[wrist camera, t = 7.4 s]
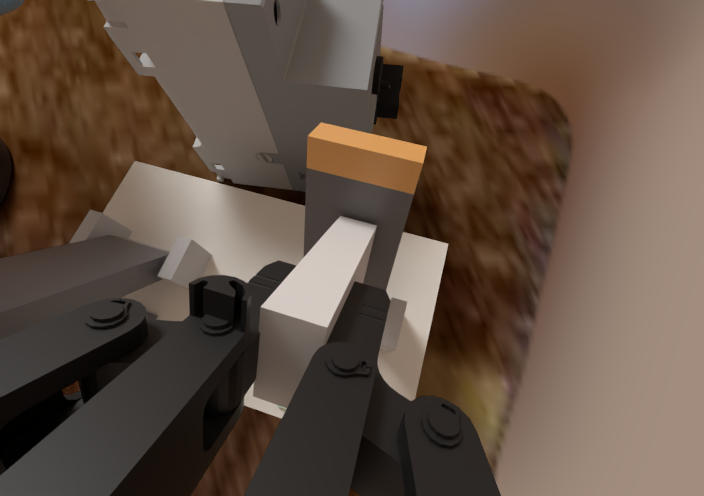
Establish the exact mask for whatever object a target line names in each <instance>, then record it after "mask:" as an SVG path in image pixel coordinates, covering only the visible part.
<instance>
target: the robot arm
mask: <svg viewBox="0 0 704 496" xmlns="http://www.w3.org/2000/svg"><path fill="white" fill-rule="evenodd" d="M24 1H25V0H0V15H3V14H6V13H8V12H11V11H13V10H15V9H17V8H18V7H20V6H21V5H22V4H23V2H24ZM11 168H12V165H11V157H10V154H9V151H8V149H7V147H6V145H5V143H4V142H3V141H2V140H1V138H0V204H1V202H2V201H3V199H4V196H5V194H6V192H7V189H8V186H9V183H10V178H11ZM376 228H377V225H373V224H369V223H366V222H362V221H358V220H354V219H350V218H347V217H343V216H340V217H339V218H338V219H337V220H336V221H335V222H334V224H333V225H332V226H331V227H330V228H329V229H328V230H327V232H326V233H325V234H324V235H323V236H322V237H321V238H320V240H319V241H318V242H317V243H316V244H315V245H314V246H313V248H312V249H311V250H310V251H309V252H308V253H307V254H306V256H305V257H304V258H303V259H302V260H301V261H300V262H299V264H298V265H297V266H296V265H293V264H290V263H286V262H283V261H279V260H278V261H276V262H273V263H271V264H268V265H265V266H264V267H263V268H262V269H261V270H260V271H259V272H258V273H257V274H256V276H253V277H252V278H251V279H250V280H249V282H248V283H246V282H245V281H243V280H241V279H239V278H236V277H232V276H227V275H210V276H206V277H201V278H198V279H196V280H194V281H192V282H190V283H189V311H190V315H189V316H188V317H187V318H186V319H184V320H183V321H166V320H152V319H147V315H146V308H145V307H144V306H143V305H142V304H141V302H138V301H135V300H133V299H127V298H111V299H103V300H99V301H96V302H93V303H89V304H87V305H84V306H82V307H79V308H77V309H74V310H72V311H69V312H67V313H64V314H62V315H59V316H57V317H54V318H52V319H49V320H47V321H45V322H42V323H40V324H37V325H35V326H32V327H30V328H27V329H25V330H22V331H20V332H17V333H15V334H12V335H10V336H7V337H5V338H2V339H0V496H190V495H191V494H192V492H193V491H194V489H195V487H196V486H197V484H198V483H199V481H200V480H201V478H202V476H203V475H204V473H205V472H206V470H207V468H208V467H209V465H210V464H211V462H212V460H213V459H214V457H215V456H216V454H217V452H218V451H219V449H220V448H221V446H222V444H223V443H224V441H225V440H226V438H227V436H228V435H229V433H230V432H231V430H232V428H233V427H234V425H235V424H236V422H237V420H238V419H239V417H240V415H241V413H242V410H243V407H244V396H245V395H246V393H247V392H248V390H249V389H250V387H251V386H252V384H253V383H254V389H253V397H256V398H259V399H262V400H264V401H267V402H270V403H273V404H276V405H279V406H282V407H285V408H287V409H286V411H285V413H284V415H283V417H282V419H281V421H280V423H279V425H278V427H277V429H276V431H275V433H274V436H273V438H272V440H271V442H270V444H269V446H268V448H267V450H266V452H265V454H264V456H263V458H262V460H261V462H260V464H259V466H258V468H257V470H256V472H255V474H254V476H253V478H252V480H251V482H250V484H249V486H248V488H247V490H246V492H245V494H244V496H349V491H350V488H352V489H353V490H354V491H355V492H356V493H358V494H359V495H360V496H501V495H500V492H499V490H498V487H497V484H496V482H495V479H494V476H493V474H492V471H491V468H490V466H489V463H488V460H487V457H486V455H485V452H484V449H483V447H482V444H481V441H480V439H479V436H478V433H477V431H476V429H475V428H474V426H473V424H472V422H471V420H470V419H469V418H468V417H467V416H466V415H465V414H464V413H463V411H462V410H461V409H460V408H459V407H457V406H455V405H454V404H452V403H450V402H449V401H447V400H445V399H442V398H439V397H435V396H420V397H418V398H416V399H414V400H412V401H410V400H408V399H407V398H405V397H404V396H402V395H401V394H399V393H398V392H396V391H395V390H394V389H393V388H391V387H390V386H389V385H388V384H387V383H386V381H385V380H384V379H383V377H382V376H381V374H380V372H379V368H378V365H377V364H378V355H379V350H380V346H381V341H382V337H383V332H384V328H385V323H386V319H387V315H388V310H389V306H390V299H389V296H388V294H387V292H386V290H384V289H380V288H377V287H373V286H370V285H366V284H363V282H364V277H365V273H366V269H367V265H368V261H369V257H370V253H371V248H372V244H373V240H374V236H375V232H376ZM76 381H78V383H79V387H80V391H78V392H76V393H73V394H71V395H63V392H62V389H64V388H66V387H68V386H69V385H71V384H73V383H75V382H76Z"/></svg>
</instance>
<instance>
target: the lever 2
mask: <svg viewBox="0 0 704 496" xmlns="http://www.w3.org/2000/svg"><path fill="white" fill-rule="evenodd" d="M426 149H427V147H426V146H422V145H417V144H413V143H409V142H404V141H400V140H396V139H391V138H387V137H383V136H378V135H374V134H370V133H365V132H361V131H357V130H352V129H348V128H344V127H339V126H335V125H331V124H326V123H322V122H321V123H320V124H319V125H318V126H317V127H316V128H315V129H314V130H313V131H312V132H311V133H310V134H309V135H308V139H307V169H306V199H305V228H304V257H305V256H306V254H307V253H308V252H309V251H310V250H311V249H312V248H313V246H314V245H315V244H316V243H317V242H318V241H319V240H320V238H321V237H322V236H323V235H324V234H325V233H326V232H327V230H328V229H329V228H330V227H331V226H332V225H333V224H334V222H335V221H336V220H337V219H338V218H339V217H340V216H343V217H347V218H350V219H354V220H358V221H362V222H366V223H369V224H373V225H377V228H376V232H375V236H374V240H373V244H372V248H371V253H370V257H369V261H368V265H367V269H366V273H365V277H364V282H363V284H366V285H370V286H373V287H377V288H380V289H384V290H386V289H387V285H388V282H389V278H390V275H391V272H392V268H393V265H394V261H395V258H396V254H397V251H398V248H399V244H400V241H401V237H402V234H403V230H404V227H405V224H406V220H407V217H408V213H409V210H410V206H411V203H412V200H413V196H414V193H415V189H416V186H417V182H418V179H419V176H420V172H421V169H422V165H423V162H424V157H425V153H426Z"/></svg>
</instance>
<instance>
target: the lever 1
mask: <svg viewBox="0 0 704 496" xmlns="http://www.w3.org/2000/svg"><path fill="white" fill-rule="evenodd" d="M169 253H170V251H168V250H165V249H161V248H158V247H155V246H151V245H148V244H144V243H141V242H138V241H134V240H131V239H128V238H124V237H121V236H113V235H107V236H102V237H97V238H93V239H88V240H83V241H79V242H74V243H69V244H65V245H60V246H56V247H51V248H46V249H42V250H37V251H32V252H28V253H23V254H18V255H14V256H9V257H4V258H0V339H2V338H5V337H7V336H10V335H12V334H15V333H17V332H20V331H22V330H25V329H27V328H30V327H32V326H35V325H37V324H40V323H42V322H45V321H47V320H49V319H52V318H54V317H57V316H59V315H62V314H64V313H67V312H69V311H72V310H74V309H77V308H79V307H82V306H84V305H87V304H89V303H93V302H96V301H99V300H103V299H111V298H121V297H123V296H126V295H128V294H130V293H132V292H135V291H137V290H139V289H142V288H144V287H146V286H148V285H151V284H153V283H155V282H158V281H160V280H162V279H163V278H161V277H158V274H159V272H160V270H161V268H162V266H163V264H164V262H165V260H166V258H167V256H168V255H169Z"/></svg>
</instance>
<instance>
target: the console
mask: <svg viewBox="0 0 704 496" xmlns="http://www.w3.org/2000/svg"><path fill="white" fill-rule="evenodd" d="M304 228H305V206H303V205H300V204H296V203H292V202H288V201H284V200H281V199H277V198H273V197H269V196H266V195H262V194H258V193H254V192H250V191H247V190H243V189H239V188H235V187H232V186H228V185H224V184H220V183H216V182H213V181H209V180H205V179H201V178H198V177H194V176H190V175H186V174H182V173H179V172H175V171H171V170H167V169H164V168H160V167H156V166H152V165H148V164H145V163H141V162H137V161H135V162H134V163H133V165H132V166H131V168H130V170H129V171H128V173H127V174H126V176H125V178H124V179H123V181H122V182H121V184H120V186H119V187H118V189H117V190H116V192H115V194H114V195H113V197H112V198H111V200H110V202H109V203H108V205H107V206H106V208H105V210H104V211H103V213H100V212H97V211H93V210H90V211H89V212H88V214H87V216H86V217H85V219H84V220H83V222H82V223H81V225H80V226H79V228H78V230H77V231H76V233H75V234H74V236H73V237H72V239H71V241H70V242H69V243H74V242H79V241H83V240H88V239H93V238H97V237H102V236H107V235H113V236H121V237H124V238H128V239H131V240H134V241H138V242H141V243H144V244H148V245H151V246H155V247H158V248H161V249H165V250H168V251H170V253H169V255H168V256H167V258H166V260H165V262H164V264H163V266H162V268H161V270H160V272H159V274H158V277H161V278H163V279H162V280H160V281H158V282H155V283H153V284H151V285H148V286H146V287H144V288H142V289H139V290H137V291H135V292H132V293H130V294H128V295H126V296H123V297H121V298H127V299H133V300H135V301H138V302H141V304H142V305H143V306H144V307H145V308H146V315H147V319H152V320H166V321H183V320H184V319H186V318H187V317H188V316H189V315H190V311H189V283H190V282H192V281H194V280H196V279H198V278H201V277H206V276H210V275H227V276H232V277H236V278H239V279H241V280H243V281H245V282H246V283H248V282H249V280H250V279H251V278H252V277H253V276H256V274H257V273H258V272H259V271H260V270H261V269H262V268H263V267H264V266H265V265H268V264H271V263H273V262H276V261H278V260H279V261H283V262H286V263H290V264H293V265H296V266H297V265H298V264H299V262H300V261H301V260H302V259H303V258H304ZM447 248H448V244H447V243H443V242H439V241H436V240H432V239H428V238H424V237H421V236H417V235H413V234H409V233H405V232H403V234H402V237H401V241H400V244H399V248H398V251H397V254H396V258H395V261H394V265H393V268H392V272H391V275H390V278H389V282H388V285H387V289H386V292H387V294H388V296H389V299H390V306H389V310H388V315H387V319H386V323H385V328H384V332H383V337H382V341H381V346H380V350H379V355H378V364H377V365H378V368H379V372H380V374H381V376H382V377H383V379H384V380H385V381H386V383H387V384H388V385H389V386H390V387H391V388H393V389H394V390H395V391H396V392H398V393H399V394H401V395H402V396H404V397H405V398H407V399H408V400H410V401H412V400H414V399H415V397H416V392H417V388H418V383H419V378H420V374H421V369H422V364H423V360H424V355H425V350H426V346H427V341H428V336H429V332H430V327H431V323H432V318H433V313H434V309H435V304H436V299H437V295H438V290H439V285H440V281H441V276H442V271H443V267H444V262H445V257H446V253H447ZM253 389H254V383H253V384H252V386H251V387H250V389H249V390H248V392H247V393H246V395H245V396H244V406H247V407H250V408H253V409H256V410H259V411H261V412H264V413H267V414H270V415H273V416H276V417H279V418H281V419H282V417H283V415H284V413H285V411H286V409H287V408H285V407H282V406H279V405H276V404H273V403H270V402H267V401H264V400H262V399H259V398H256V397H253Z"/></svg>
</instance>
